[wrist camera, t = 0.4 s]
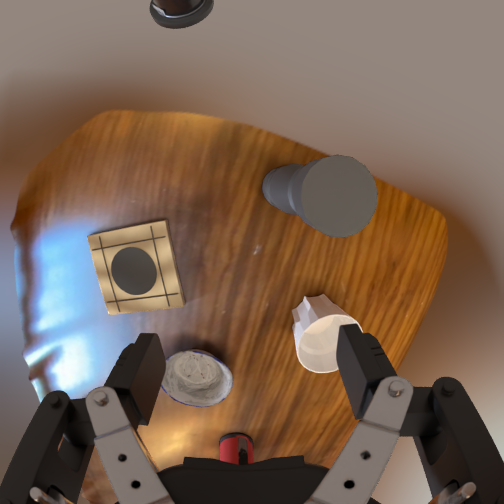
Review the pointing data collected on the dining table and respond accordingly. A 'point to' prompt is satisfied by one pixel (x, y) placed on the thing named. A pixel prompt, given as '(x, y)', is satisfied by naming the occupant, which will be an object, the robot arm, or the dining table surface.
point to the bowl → (196, 378)
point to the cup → (318, 332)
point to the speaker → (236, 449)
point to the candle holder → (325, 194)
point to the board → (137, 268)
